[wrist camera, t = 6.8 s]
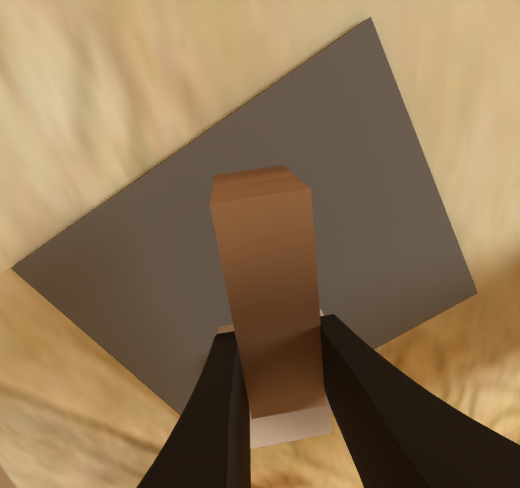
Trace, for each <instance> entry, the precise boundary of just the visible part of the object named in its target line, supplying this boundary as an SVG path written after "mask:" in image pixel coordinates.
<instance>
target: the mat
mask: <svg viewBox="0 0 520 488" xmlns="http://www.w3.org/2000/svg"><path fill="white" fill-rule="evenodd" d="M279 165H283V166H284V167H286V168H287V169H288V170H289V171H291V172H292V173H293V174H294V175H295V176H297V177H298V178H299V179H300V180H301V181H303V182H304V183H305V184H306V185H307V186H309V187H310V188H311V195H312V209H313V223H314V237H315V251H316V265H317V279H318V293H319V307H320V309H321V310H322V312H323V314H324V316H325V315H331V314H334V315H336V316H337V317H338V318H339V319H340V320H341V321H343V322H344V323H345V324H346V325H347V326H348V327H349V328H350V329H351V330H352V331H353V332H354V333H355V334H357V335H358V336H359V337H360V338H361V339H362V340H363V341H364V342H366V343H367V344H368V345H369V346H370V347H371V348H373V349H375V348H377V347H379V346H381V345H383V344H385V343H386V342H388V341H390V340H392V339H394V338H396V337H398V336H399V335H401V334H403V333H405V332H407V331H409V330H410V329H412V328H414V327H416V326H418V325H420V324H421V323H423V322H425V321H427V320H429V319H431V318H432V317H434V316H436V315H438V314H440V313H442V312H443V311H445V310H447V309H449V308H451V307H453V306H454V305H456V304H458V303H460V302H462V301H464V300H466V299H467V298H469V297H471V296H473V295H475V294H477V291H476V288H475V285H474V283H473V280H472V278H471V275H470V272H469V270H468V267H467V265H466V262H465V260H464V257H463V254H462V252H461V249H460V247H459V244H458V241H457V239H456V236H455V234H454V231H453V229H452V226H451V223H450V221H449V218H448V216H447V213H446V210H445V208H444V205H443V203H442V200H441V197H440V195H439V192H438V190H437V187H436V185H435V182H434V179H433V177H432V174H431V172H430V169H429V166H428V164H427V161H426V159H425V156H424V154H423V151H422V148H421V146H420V143H419V141H418V138H417V135H416V133H415V130H414V128H413V125H412V122H411V120H410V117H409V115H408V112H407V110H406V107H405V104H404V102H403V99H402V97H401V94H400V91H399V89H398V86H397V84H396V81H395V79H394V76H393V73H392V71H391V68H390V66H389V63H388V60H387V58H386V55H385V53H384V50H383V47H382V45H381V42H380V40H379V37H378V35H377V32H376V29H375V27H374V24H373V22H372V19H371V17H370V18H368V19H367V20H365V21H364V22H362V23H361V24H359V25H358V26H357V27H355V28H354V29H352V30H351V31H349V32H348V33H347V34H345V35H344V36H342V37H341V38H339V39H338V40H337V41H335V42H334V43H332V44H331V45H329V46H328V47H327V48H325V49H324V50H322V51H321V52H319V53H318V54H317V55H315V56H314V57H312V58H311V59H309V60H308V61H306V62H305V63H304V64H302V65H301V66H299V67H298V68H296V69H295V70H294V71H292V72H291V73H289V74H288V75H286V76H285V77H284V78H282V79H281V80H279V81H278V82H276V83H275V84H274V85H272V86H271V87H269V88H268V89H266V90H265V91H264V92H262V93H261V94H259V95H258V96H256V97H255V98H254V99H252V100H251V101H249V102H248V103H246V104H245V105H243V106H242V107H241V108H239V109H238V110H236V111H235V112H233V113H232V114H231V115H229V116H228V117H226V118H225V119H223V120H222V121H221V122H219V123H218V124H216V125H215V126H213V127H212V128H211V129H209V130H208V131H206V132H205V133H203V134H202V135H201V136H199V137H198V138H196V139H195V140H193V141H192V142H191V143H189V144H188V145H186V146H185V147H183V148H182V149H180V150H179V151H178V152H176V153H175V154H173V155H172V156H170V157H169V158H168V159H166V160H165V161H163V162H162V163H160V164H159V165H158V166H156V167H155V168H153V169H152V170H150V171H149V172H148V173H146V174H145V175H143V176H142V177H140V178H139V179H138V180H136V181H135V182H133V183H132V184H130V185H129V186H128V187H126V188H125V189H123V190H122V191H120V192H119V193H118V194H116V195H115V196H113V197H112V198H110V199H109V200H107V201H106V202H105V203H103V204H102V205H100V206H99V207H97V208H96V209H95V210H93V211H92V212H90V213H89V214H87V215H86V216H85V217H83V218H82V219H80V220H79V221H77V222H76V223H75V224H73V225H72V226H70V227H69V228H67V229H66V230H65V231H63V232H62V233H60V234H59V235H57V236H56V237H55V238H53V239H52V240H50V241H49V242H47V243H46V244H44V245H43V246H42V247H40V248H39V249H37V250H36V251H34V252H33V253H32V254H30V255H29V256H27V257H26V258H24V259H23V260H22V261H20V262H19V263H17V264H16V265H15V266H13V267H12V268H11V269H12V270H14V271H15V272H16V273H17V274H18V275H19V276H20V277H22V278H23V279H24V280H25V281H26V282H27V283H29V284H30V285H31V286H32V287H33V288H34V289H35V290H37V291H38V292H39V293H40V294H41V295H42V296H44V297H45V298H46V299H47V300H48V301H49V302H50V303H52V304H53V305H54V306H55V307H56V308H57V309H59V310H60V311H61V312H62V313H63V314H64V315H65V316H67V317H68V318H69V319H70V320H71V321H72V322H74V323H75V324H76V325H77V326H78V327H79V328H80V329H82V330H83V331H84V332H85V333H86V334H87V335H89V336H90V337H91V338H92V339H93V340H94V341H95V342H97V343H98V344H99V345H100V346H101V347H102V348H104V349H105V350H106V351H107V352H108V353H109V354H110V355H112V356H113V357H114V358H115V359H116V360H117V361H119V362H120V363H121V364H122V365H123V366H124V367H125V368H127V369H128V370H129V371H130V372H131V373H132V374H133V375H135V376H136V377H137V378H138V379H139V380H140V381H142V382H143V383H144V384H145V385H146V386H147V387H148V388H150V389H151V390H152V391H153V392H154V393H155V394H157V395H158V396H159V397H160V398H161V399H162V400H163V401H165V402H166V403H167V404H168V405H169V406H170V407H172V408H173V409H174V410H175V411H176V412H177V413H178V414H180V415H181V414H182V412H183V410H184V408H185V406H186V404H187V402H188V401H189V399H190V397H191V395H192V392H193V390H194V388H195V386H196V384H197V381H198V379H199V377H200V375H201V372H202V370H203V368H204V365H205V363H206V360H207V357H208V355H209V352H210V349H211V346H212V343H213V340H214V337H215V336H216V335H217V334H218V327H220V326H226V325H231V324H233V321H232V316H231V311H230V306H229V301H228V296H227V290H226V285H225V280H224V275H223V270H222V265H221V260H220V255H219V250H218V244H217V239H216V234H215V229H214V224H213V219H212V214H211V209H210V199H211V193H212V187H213V181H214V175H219V174H226V173H232V172H239V171H246V170H252V169H259V168H266V167H272V166H279Z"/></svg>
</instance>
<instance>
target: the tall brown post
mask: <svg viewBox="0 0 520 488" xmlns="http://www.w3.org/2000/svg"><path fill="white" fill-rule="evenodd" d="M210 209H211V214H212V219H213V224H214V229H215V234H216V239H217V244H218V250H219V255H220V260H221V265H222V270H223V275H224V280H225V285H226V290H227V296H228V301H229V306H230V311H231V316H232V321H233V324H231V325H226V326H220V327H218V334H219V333H225V332H231V331H235V336H236V340H237V344H238V349H239V354H240V359H241V365H242V370H243V375H244V380H245V386H246V391H247V396H248V401H249V410H250V449H254V448H259V447H265V446H270V445H275V444H280V443H286V442H291V441H296V440H302V439H307V438H312V437H317V436H323V435H328V434H333V433H332V418H331V407H330V404H329V402H328V399H327V396H326V393H325V390H324V378H323V363H322V349H321V334H320V325H321V321H320V316H324V314H323V312H322V310H321V309H320V307H319V293H318V279H317V265H316V251H315V237H314V223H313V209H312V195H311V188H310V187H309V186H307V185H306V184H305V183H304V182H303V181H301V180H300V179H299V178H298V177H297V176H295V175H294V174H293V173H292V172H291V171H289V170H288V169H287V168H286V167H284V166H283V165H279V166H272V167H266V168H259V169H252V170H246V171H239V172H232V173H226V174H219V175H214V181H213V187H212V193H211V199H210Z"/></svg>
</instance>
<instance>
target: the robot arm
mask: <svg viewBox="0 0 520 488" xmlns="http://www.w3.org/2000/svg"><path fill="white" fill-rule="evenodd" d="M320 321H321V325H320V334H321V349H322V363H323V378H324V390H325V393H326V396H327V399H328V402H329V404H330V407H331V409H332V411H333V414H334V416H335V419H336V421H337V423H338V426H339V428H340V430H341V433H342V435H343V438H344V440H345V442H346V445H347V447H348V449H349V452H350V454H351V456H352V459H353V461H354V464H355V466H356V468H357V471H358V473H359V475H360V478H361V481H362V483H363V486H364V488H520V445H518V444H517V443H515V442H513V441H511V440H509V439H507V438H505V437H504V436H502V435H500V434H498V433H497V432H495V431H493V430H491V429H489V428H488V427H486V426H484V425H482V424H480V423H479V422H477V421H475V420H473V419H472V418H470V417H468V416H467V415H465V414H463V413H462V412H460V411H458V410H457V409H455V408H453V407H452V406H450V405H449V404H447V403H446V402H444V401H442V400H441V399H439V398H438V397H436V396H435V395H433V394H432V393H430V392H429V391H427V390H426V389H424V388H423V387H422V386H420V385H419V384H417V383H416V382H415V381H413V380H412V379H411V378H409V377H408V376H407V375H405V374H404V373H403V372H401V371H400V370H399V369H397V368H396V367H395V366H393V365H392V364H391V363H390V362H388V361H387V360H386V359H385V358H384V357H382V356H381V355H380V354H379V353H377V352H376V351H375V350H374V349H373V348H371V347H370V346H369V345H368V344H367V343H366V342H364V341H363V340H362V339H361V338H360V337H359V336H358V335H357V334H355V333H354V332H353V331H352V330H351V329H350V328H349V327H348V326H347V325H346V324H345V323H344V322H343V321H341V320H340V319H339V318H338V317H337V316H336V315H334V314H331V315H325V316H320ZM137 488H251V470H250V410H249V401H248V396H247V391H246V386H245V380H244V375H243V370H242V365H241V359H240V354H239V349H238V344H237V340H236V336H235V331H231V332H225V333H219V334H217V335H216V336H215V337H214V340H213V343H212V346H211V349H210V352H209V355H208V357H207V360H206V363H205V365H204V368H203V370H202V372H201V375H200V377H199V379H198V381H197V384H196V386H195V388H194V390H193V392H192V395H191V397H190V399H189V401H188V402H187V404H186V406H185V408H184V410H183V412H182V414H181V416H180V418H179V420H178V422H177V424H176V425H175V427H174V429H173V431H172V433H171V434H170V436H169V438H168V439H167V441H166V443H165V445H164V446H163V448H162V449H161V451H160V453H159V454H158V456H157V458H156V459H155V461H154V462H153V464H152V465H151V467H150V468H149V470H148V471H147V473H146V474H145V476H144V477H143V479H142V480H141V482H140V483H139V485H138V486H137Z"/></svg>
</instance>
